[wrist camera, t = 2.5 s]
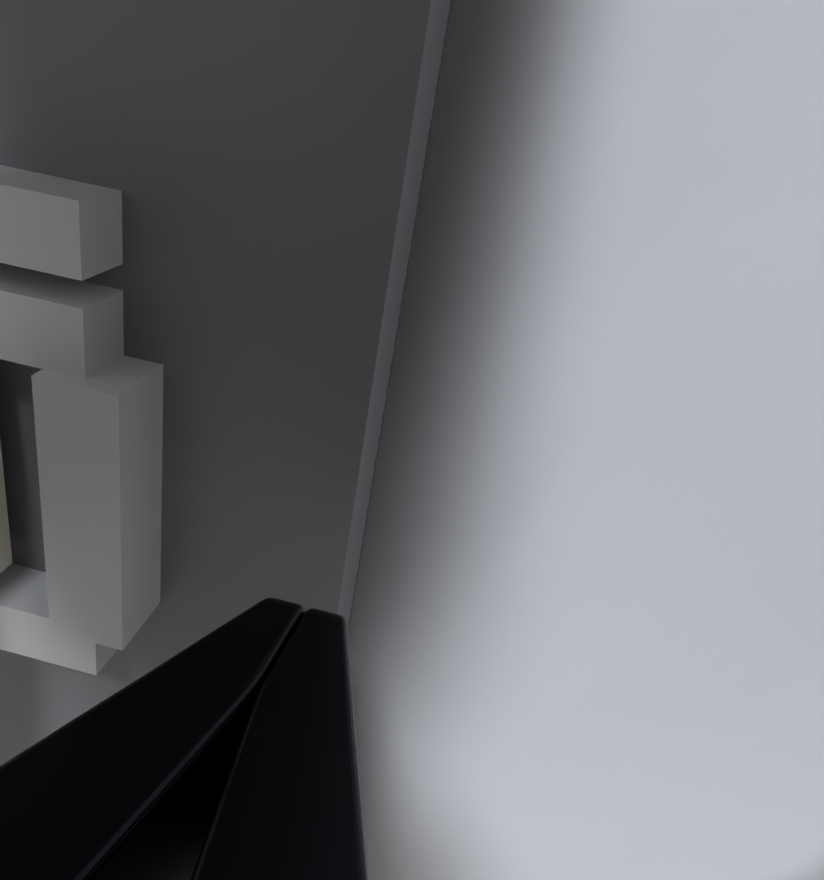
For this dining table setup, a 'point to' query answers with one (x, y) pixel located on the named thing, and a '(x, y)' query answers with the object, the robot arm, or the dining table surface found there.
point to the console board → (193, 318)
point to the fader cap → (4, 524)
